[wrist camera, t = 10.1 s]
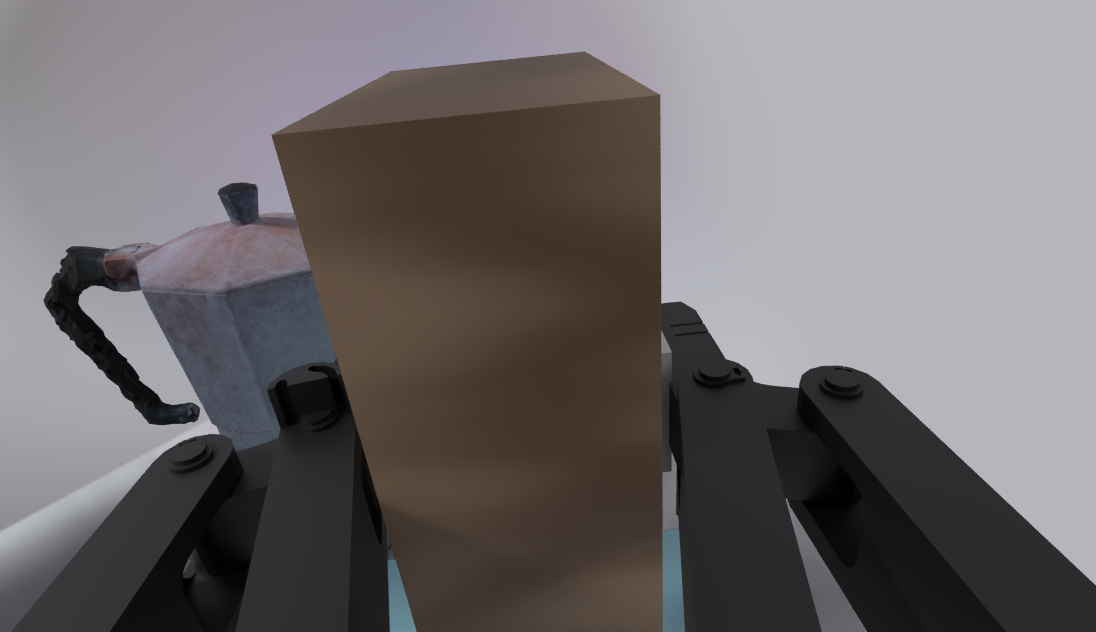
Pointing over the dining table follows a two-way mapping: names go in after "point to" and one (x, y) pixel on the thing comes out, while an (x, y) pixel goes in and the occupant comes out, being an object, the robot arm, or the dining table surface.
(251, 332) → the moka pot
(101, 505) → the dining table surface
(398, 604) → the slotted base
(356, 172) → the walnut board
